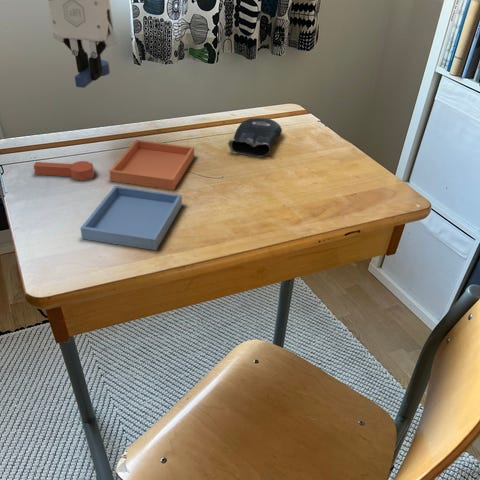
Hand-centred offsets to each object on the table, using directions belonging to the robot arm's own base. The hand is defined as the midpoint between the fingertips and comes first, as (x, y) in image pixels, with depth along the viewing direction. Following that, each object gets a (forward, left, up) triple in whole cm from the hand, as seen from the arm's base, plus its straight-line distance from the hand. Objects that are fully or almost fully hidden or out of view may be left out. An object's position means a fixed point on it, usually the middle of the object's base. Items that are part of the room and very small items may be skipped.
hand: (90, 77), depth 98 cm
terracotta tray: (+14, -7, -13) cm, 21 cm away
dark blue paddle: (0, +1, 0) cm, 1 cm away
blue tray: (+17, -26, -13) cm, 34 cm away
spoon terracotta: (-1, -14, -13) cm, 20 cm away
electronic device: (+31, +11, -13) cm, 36 cm away
